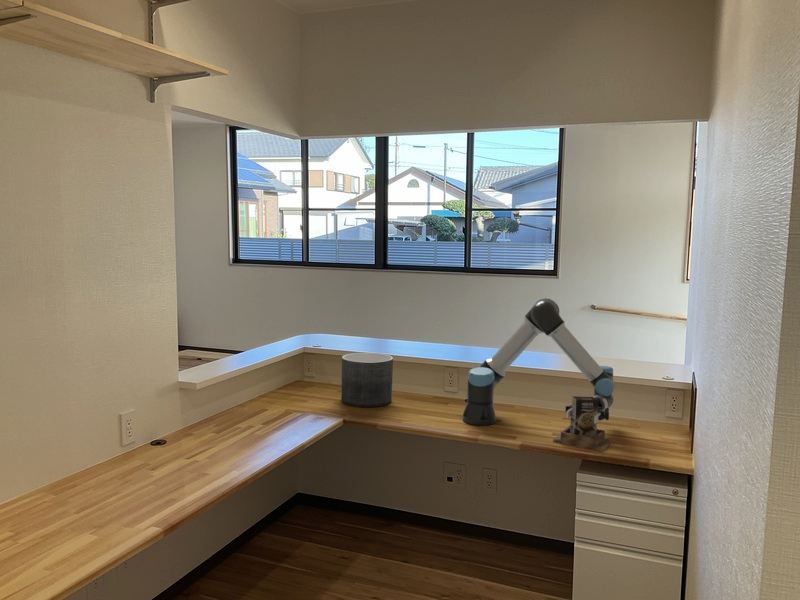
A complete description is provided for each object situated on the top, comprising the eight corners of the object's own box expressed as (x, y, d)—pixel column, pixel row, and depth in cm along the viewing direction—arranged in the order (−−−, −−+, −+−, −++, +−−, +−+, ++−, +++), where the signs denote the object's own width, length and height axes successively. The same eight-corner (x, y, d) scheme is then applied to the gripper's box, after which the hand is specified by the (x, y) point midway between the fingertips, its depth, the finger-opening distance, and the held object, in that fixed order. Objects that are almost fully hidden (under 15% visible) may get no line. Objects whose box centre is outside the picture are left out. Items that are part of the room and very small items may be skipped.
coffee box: (574, 438, 245) (576, 399, 244) (569, 433, 252) (571, 395, 250) (596, 439, 246) (599, 400, 244) (591, 434, 252) (593, 396, 250)
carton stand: (553, 441, 249) (553, 430, 248) (564, 433, 260) (564, 422, 260) (602, 452, 238) (603, 440, 237) (611, 442, 249) (612, 432, 249)
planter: (397, 397, 312) (398, 354, 310) (383, 409, 288) (384, 364, 285) (351, 392, 319) (352, 351, 316) (333, 404, 294) (334, 359, 292)
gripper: (623, 419, 257) (609, 431, 238) (569, 409, 269) (552, 420, 251) (624, 401, 256) (610, 413, 238) (570, 392, 269) (553, 403, 250)
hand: (581, 417), depth 244 cm, fingers closed on coffee box, 10 cm apart
